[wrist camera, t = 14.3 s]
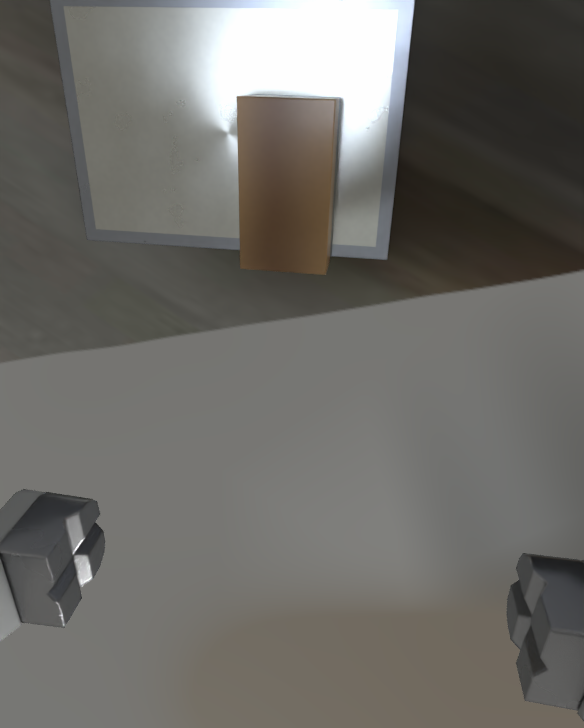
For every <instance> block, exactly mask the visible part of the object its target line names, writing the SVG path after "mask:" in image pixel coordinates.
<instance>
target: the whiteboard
mask: <svg viewBox="0 0 584 728" xmlns="http://www.w3.org/2000/svg"><path fill="white" fill-rule="evenodd" d="M50 5H51V11H52V18H53V24H54V31H55V37H56V43H57V50H58V56H59V63H60V69H61V76H62V82H63V88H64V95H65V101H66V108H67V114H68V121H69V127H70V133H71V140H72V146H73V153H74V159H75V166H76V172H77V179H78V185H79V191H80V198H81V204H82V211H83V217H84V224H85V230H86V236H87V240H93V241H108V242H123V243H138V244H153V245H169V246H184V247H199V248H214V249H229V250H240V235H239V186H238V136H237V96H242V95H250V94H266V95H297V96H327V97H341V111H340V128H339V144H338V160H337V177H336V193H335V210H334V226H333V243H332V255H331V256H335V257H351V258H366V259H381V260H387V258H388V249H389V240H390V231H391V221H392V212H393V203H394V194H395V184H396V175H397V166H398V157H399V147H400V138H401V129H402V119H403V110H404V101H405V92H406V82H407V73H408V64H409V55H410V45H411V36H412V27H413V18H414V8H415V0H50Z"/></svg>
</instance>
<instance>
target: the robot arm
mask: <svg viewBox="0 0 584 728" xmlns="http://www.w3.org/2000/svg"><path fill="white" fill-rule="evenodd" d="M99 515H100V511H99V507H98V503H97V501H95V500H93V499H88V498H82V497H75V496H69V495H62V494H56V493H49V492H46V493H45V492H39V491H33V490H26V489H23V490H21V491H18V492H16V493H15V494H14V495H13V496H12V497H11V498H10V499H9V501H8V502H7V503H6V504H5V505H4V506H3V507H2V508H1V509H0V641H1V640H3V639H4V638H5V637H7V636H8V635H9V634H11V633H12V632H13V631H15V630H16V629H17V628H19V627H20V626H21V622H22V623H30V624H37V625H45V626H53V627H61V628H65V626H66V624H67V622H68V621H69V619H70V617H71V616H72V614H73V612H74V611H75V609H76V607H77V606H78V604H79V602H80V600H81V599H82V596H81V590H80V587H81V586H83V585H84V584H86V583H87V582H89V581H90V580H92V579H93V578H94V576H95V575H96V573H97V571H98V569H99V567H100V565H101V561H102V558H103V555H104V549H105V538H104V532H103V530H102V529H101V528H100V527H99V526H98V525H97V524H96V523H95V521H96V520H97V518H98V517H99ZM516 569H517V573H518V577H519V580H518V581H517V582H515V583H514V584H512V585H511V588H510V591H509V595H508V599H507V600H508V601H507V622H508V629H509V633H510V639H511V640H512V641H513V643H514V644H515V645H516V646H517V647H518V648H519V649H520V653H519V656H518V659H517V662H516V665H517V669H518V673H519V678H520V682H521V686H522V691H523V694H524V699H525V701H529V702H535V703H540V704H545V705H550V706H556V707H561V708H567V709H572V710H577V711H578V715H579V716H580V717H581V718H582V720H583V721H584V560H578V559H569V558H561V557H552V556H544V555H535V554H526V553H523V554H522V555H521V557H520V558H519V561H518V564H517V567H516Z"/></svg>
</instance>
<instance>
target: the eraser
mask: <svg viewBox="0 0 584 728" xmlns="http://www.w3.org/2000/svg"><path fill="white" fill-rule="evenodd" d="M340 111H341V97H327V96H297V95H266V94H250V95H242V96H237V136H238V186H239V235H240V268H241V269H253V270H266V271H280V272H294V273H308V274H322V275H325V274H326V272H327V269H328V265H329V262H330V259H331V255H332V243H333V226H334V210H335V193H336V177H337V160H338V144H339V128H340Z"/></svg>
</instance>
